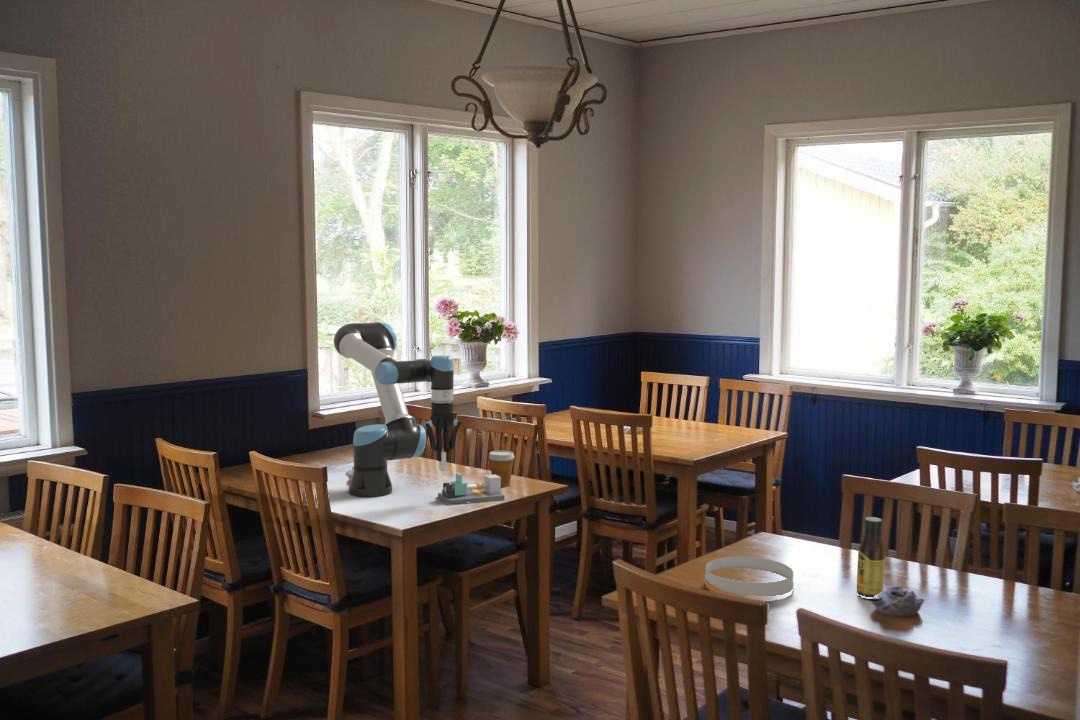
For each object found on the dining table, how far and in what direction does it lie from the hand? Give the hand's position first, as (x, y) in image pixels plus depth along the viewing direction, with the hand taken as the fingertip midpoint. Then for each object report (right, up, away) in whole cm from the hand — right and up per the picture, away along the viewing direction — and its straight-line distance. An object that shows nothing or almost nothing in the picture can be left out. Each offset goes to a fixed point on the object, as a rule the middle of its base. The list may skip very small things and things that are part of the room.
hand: (442, 470), depth 335 cm
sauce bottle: (+114, -21, -92) cm, 148 cm away
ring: (+86, -21, -85) cm, 123 cm away
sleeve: (+5, -8, +4) cm, 11 cm away
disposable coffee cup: (+19, -9, +27) cm, 34 cm away
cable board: (+9, -10, +6) cm, 15 cm away
